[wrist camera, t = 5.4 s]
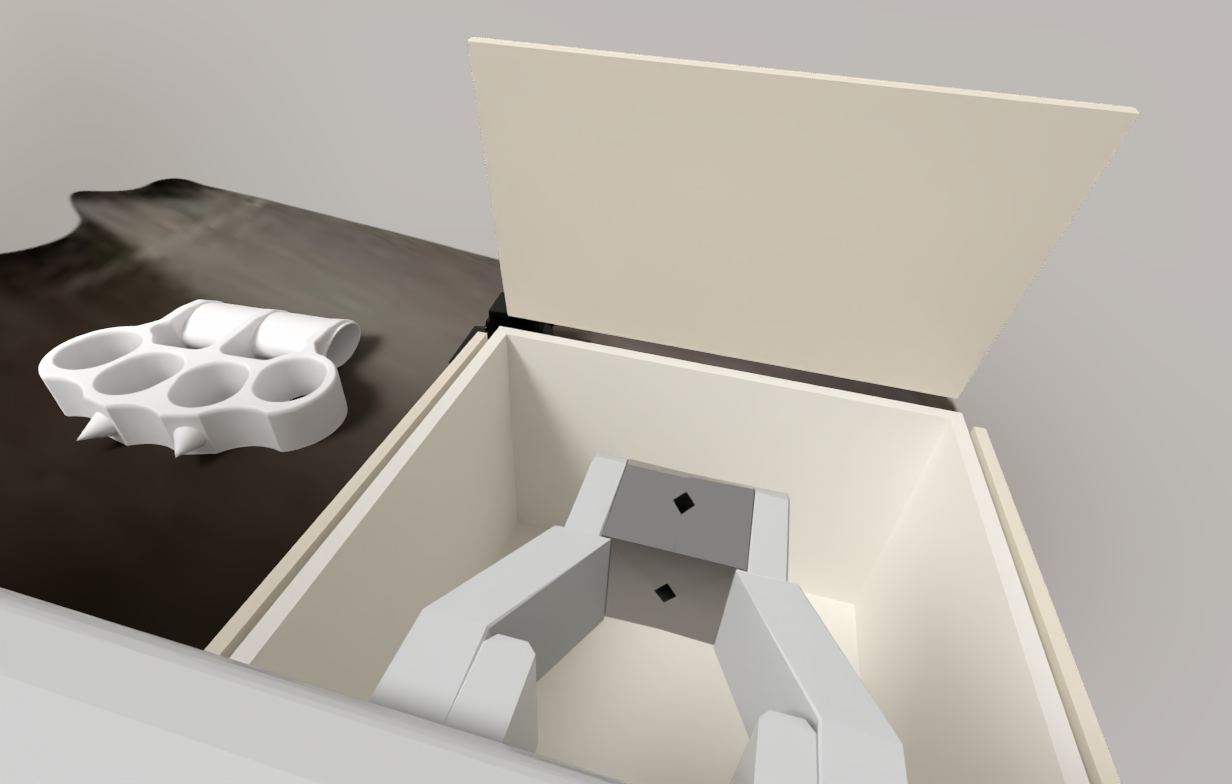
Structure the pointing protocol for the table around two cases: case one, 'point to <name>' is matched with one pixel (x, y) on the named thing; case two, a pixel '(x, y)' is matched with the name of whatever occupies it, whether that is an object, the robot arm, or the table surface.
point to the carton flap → (777, 206)
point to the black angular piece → (507, 324)
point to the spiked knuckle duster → (207, 379)
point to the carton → (649, 657)
